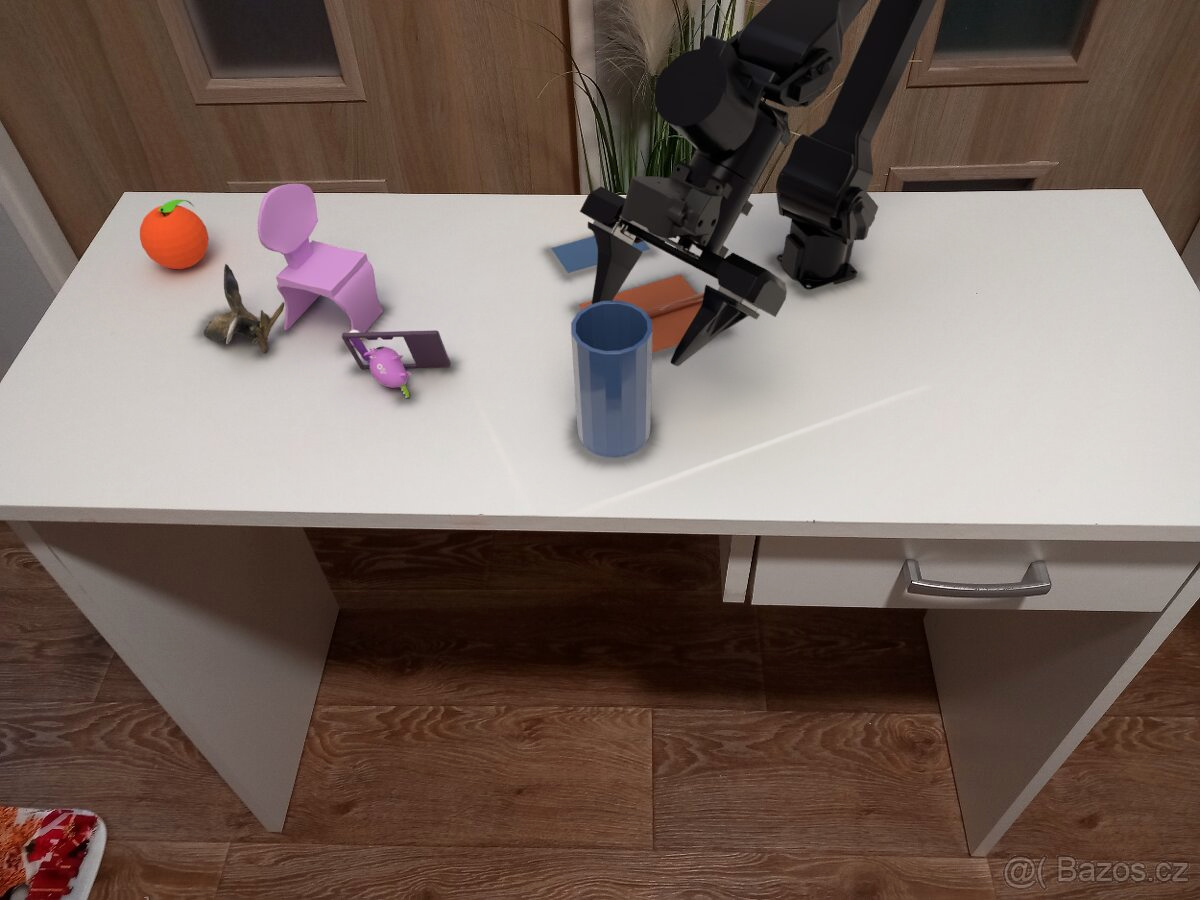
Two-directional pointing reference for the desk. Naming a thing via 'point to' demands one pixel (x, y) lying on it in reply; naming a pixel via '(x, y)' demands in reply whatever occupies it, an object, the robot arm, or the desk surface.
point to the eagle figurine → (240, 317)
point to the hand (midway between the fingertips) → (632, 340)
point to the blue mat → (583, 253)
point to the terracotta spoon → (675, 305)
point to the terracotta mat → (655, 294)
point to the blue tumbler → (612, 377)
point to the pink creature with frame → (387, 361)
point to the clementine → (174, 236)
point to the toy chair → (314, 260)
